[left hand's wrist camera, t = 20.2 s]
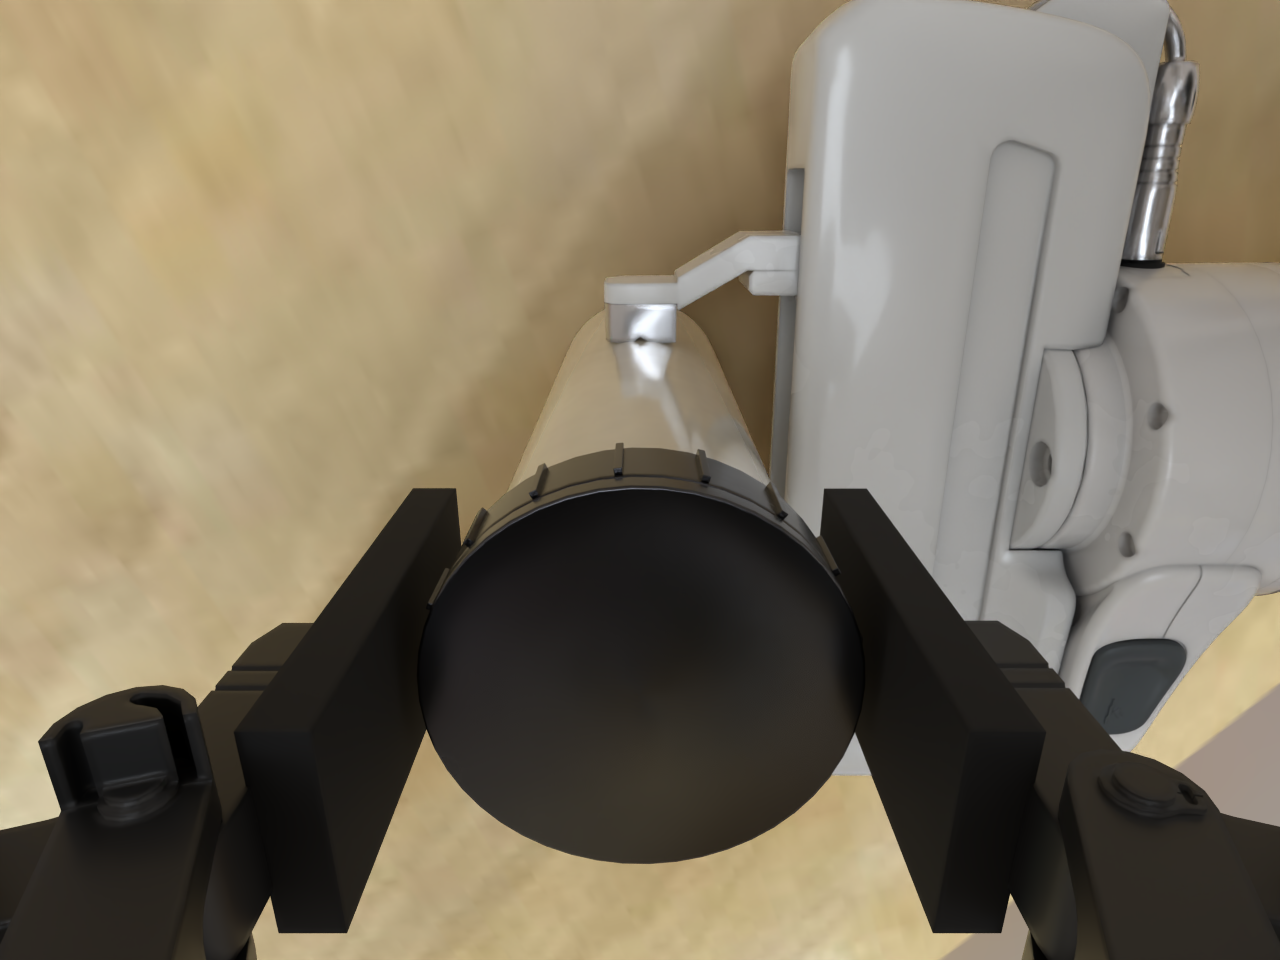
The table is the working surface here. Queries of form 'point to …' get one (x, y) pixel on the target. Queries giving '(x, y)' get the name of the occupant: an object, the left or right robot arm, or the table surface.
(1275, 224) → the table surface
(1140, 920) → the left robot arm
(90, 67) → the table surface
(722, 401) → the jar
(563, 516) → the lid
